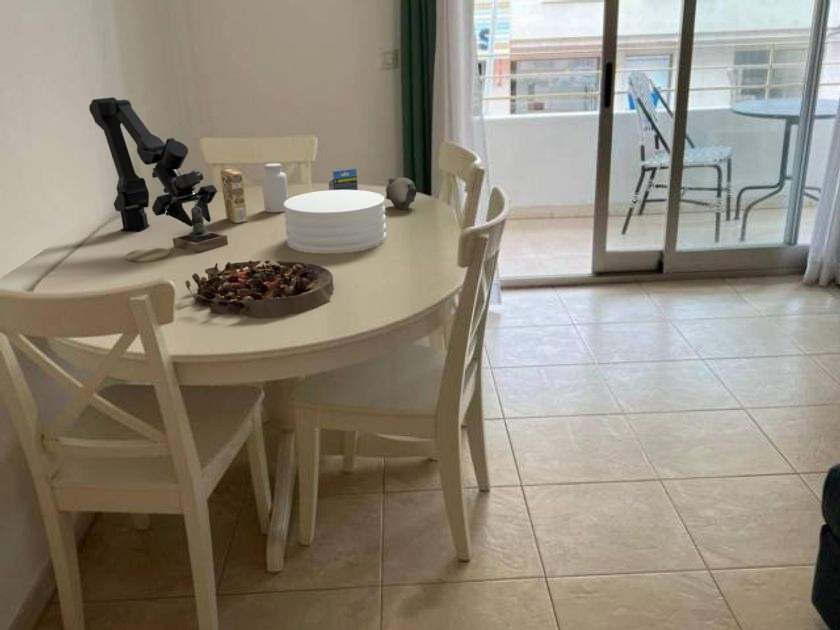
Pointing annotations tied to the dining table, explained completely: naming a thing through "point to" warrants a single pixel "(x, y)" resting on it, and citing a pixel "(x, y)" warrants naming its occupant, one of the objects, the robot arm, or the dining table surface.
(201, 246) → the bin frame
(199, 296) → the food dish
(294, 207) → the plate stack
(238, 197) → the candy box
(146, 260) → the coaster
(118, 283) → the dining table surface
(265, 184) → the pill bottle
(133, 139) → the robot arm
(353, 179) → the label tape box
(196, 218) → the grey tall carved piece
